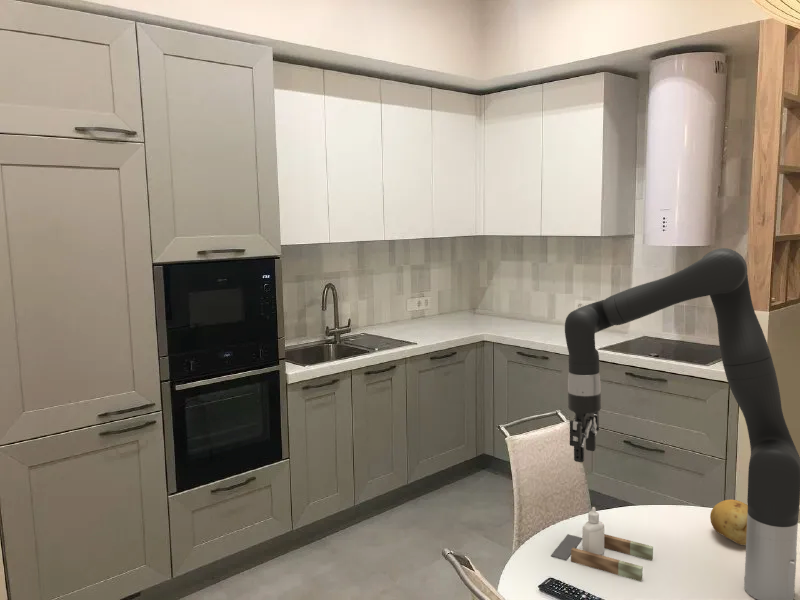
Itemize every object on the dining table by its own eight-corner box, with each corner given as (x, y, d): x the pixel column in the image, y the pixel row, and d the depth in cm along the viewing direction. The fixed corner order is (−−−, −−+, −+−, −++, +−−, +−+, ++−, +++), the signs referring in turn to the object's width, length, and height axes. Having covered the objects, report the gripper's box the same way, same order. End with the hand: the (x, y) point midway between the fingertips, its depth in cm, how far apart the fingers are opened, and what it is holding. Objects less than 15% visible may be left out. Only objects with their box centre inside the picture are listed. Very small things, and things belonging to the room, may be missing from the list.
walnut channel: (652, 558, 150) (653, 546, 149) (641, 581, 140) (641, 569, 140) (586, 540, 159) (586, 529, 158) (571, 561, 149) (571, 549, 149)
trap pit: (582, 539, 160) (582, 537, 160) (566, 560, 150) (566, 559, 150) (567, 535, 162) (567, 534, 162) (550, 556, 152) (550, 555, 152)
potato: (734, 525, 164) (735, 489, 163) (770, 550, 152) (772, 510, 151) (699, 530, 162) (700, 493, 161) (732, 555, 150) (734, 515, 149)
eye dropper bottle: (607, 559, 150) (608, 511, 148) (584, 559, 150) (584, 512, 148) (601, 549, 154) (602, 503, 153) (579, 550, 154) (579, 503, 153)
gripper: (590, 399, 142) (591, 468, 144) (608, 385, 154) (609, 449, 156) (558, 396, 147) (559, 462, 148) (578, 382, 158) (579, 444, 160)
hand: (585, 455), depth 152 cm, fingers open, 8 cm apart
